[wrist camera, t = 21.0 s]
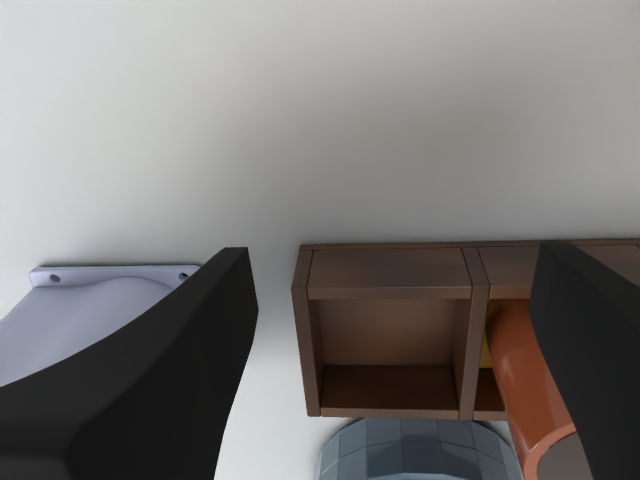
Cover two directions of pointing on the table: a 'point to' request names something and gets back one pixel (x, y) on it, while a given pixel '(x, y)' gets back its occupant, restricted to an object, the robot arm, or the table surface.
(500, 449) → the bowl
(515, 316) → the cup
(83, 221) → the table surface
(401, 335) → the box
